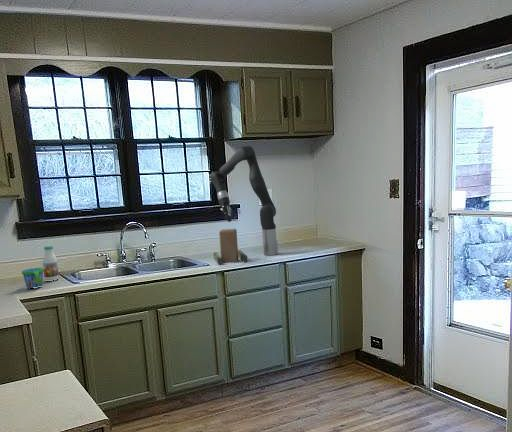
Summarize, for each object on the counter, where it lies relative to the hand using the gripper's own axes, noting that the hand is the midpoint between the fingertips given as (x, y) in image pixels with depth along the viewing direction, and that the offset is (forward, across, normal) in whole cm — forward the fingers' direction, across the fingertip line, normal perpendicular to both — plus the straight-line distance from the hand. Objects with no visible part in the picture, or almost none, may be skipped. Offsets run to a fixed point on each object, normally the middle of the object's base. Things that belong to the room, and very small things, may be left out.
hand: (229, 221), depth 323 cm
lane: (+29, -20, -4) cm, 35 cm away
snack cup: (+20, -111, +63) cm, 130 cm away
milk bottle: (+16, -95, +69) cm, 119 cm away
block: (+30, -22, -5) cm, 37 cm away
